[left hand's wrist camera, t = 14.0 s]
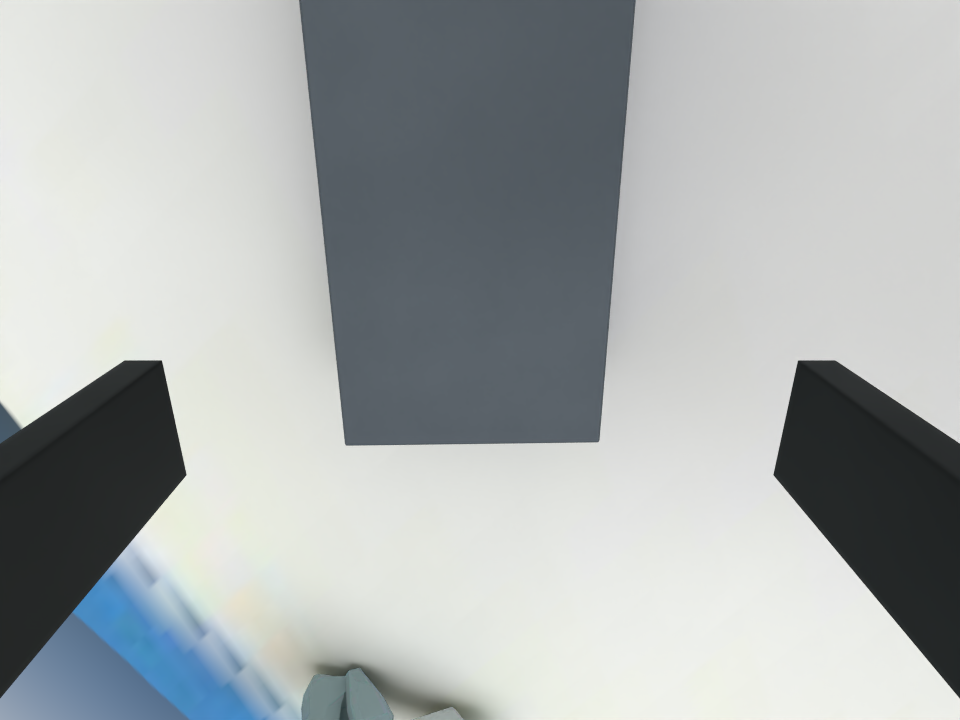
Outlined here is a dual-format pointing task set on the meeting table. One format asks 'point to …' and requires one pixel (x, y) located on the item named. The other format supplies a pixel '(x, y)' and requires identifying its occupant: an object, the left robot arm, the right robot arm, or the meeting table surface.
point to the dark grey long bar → (469, 211)
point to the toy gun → (353, 700)
